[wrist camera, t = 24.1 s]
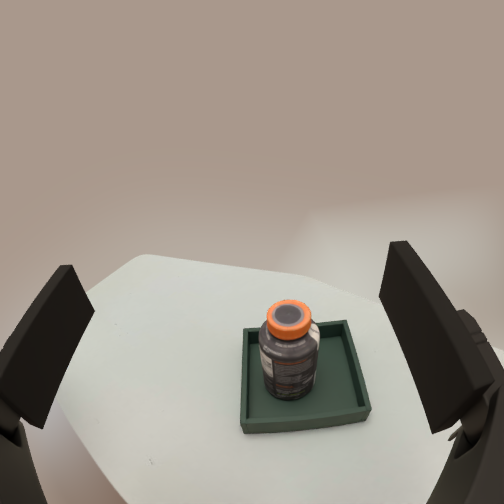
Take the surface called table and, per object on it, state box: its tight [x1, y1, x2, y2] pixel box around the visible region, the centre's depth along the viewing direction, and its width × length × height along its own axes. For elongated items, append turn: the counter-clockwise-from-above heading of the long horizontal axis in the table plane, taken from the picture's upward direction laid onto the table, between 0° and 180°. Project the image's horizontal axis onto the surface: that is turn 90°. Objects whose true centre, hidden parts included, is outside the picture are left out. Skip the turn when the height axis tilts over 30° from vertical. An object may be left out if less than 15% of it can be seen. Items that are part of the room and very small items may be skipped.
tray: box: [240, 320, 372, 434], centre depth 31 cm, size 13×13×3 cm
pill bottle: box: [258, 300, 320, 400], centre depth 28 cm, size 6×6×11 cm
